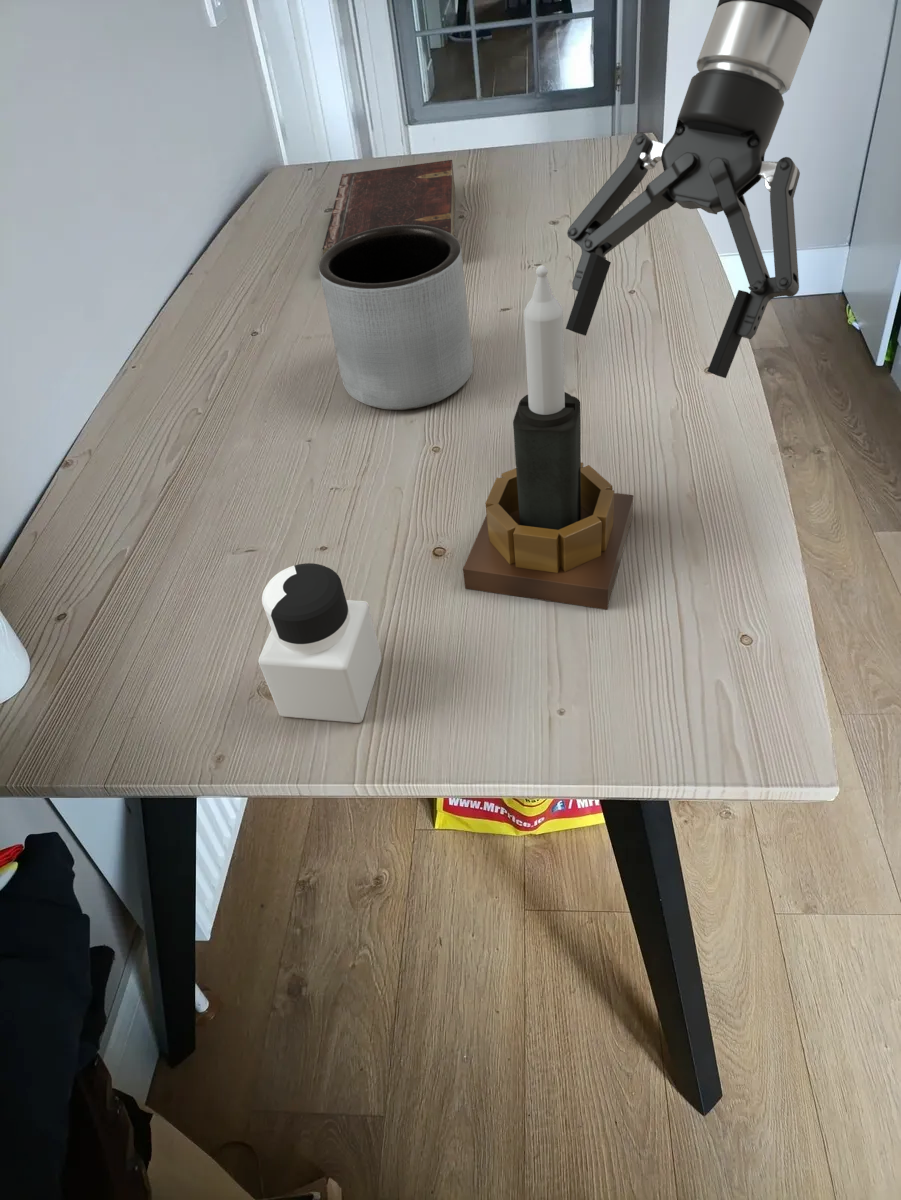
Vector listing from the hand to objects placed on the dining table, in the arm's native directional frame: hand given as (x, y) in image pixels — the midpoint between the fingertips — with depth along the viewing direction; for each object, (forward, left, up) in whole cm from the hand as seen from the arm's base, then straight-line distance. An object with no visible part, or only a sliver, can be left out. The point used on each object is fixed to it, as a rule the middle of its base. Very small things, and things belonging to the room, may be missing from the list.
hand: (643, 353), depth 75 cm
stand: (+6, +9, -16) cm, 19 cm away
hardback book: (+47, -59, -16) cm, 77 cm away
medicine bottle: (+20, +29, -16) cm, 39 cm away
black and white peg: (+6, +9, -14) cm, 17 cm away
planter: (+30, -18, -16) cm, 39 cm away
